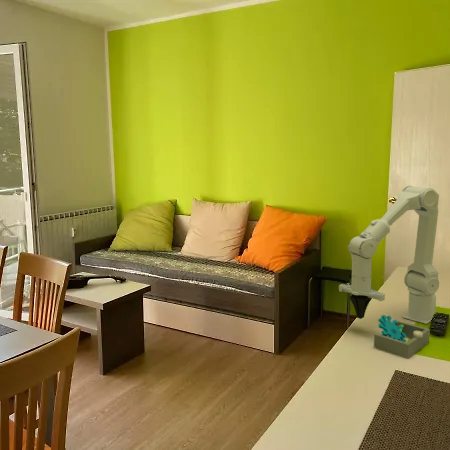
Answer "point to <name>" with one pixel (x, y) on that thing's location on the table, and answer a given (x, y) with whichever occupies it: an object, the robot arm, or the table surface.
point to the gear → (391, 328)
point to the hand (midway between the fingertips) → (360, 317)
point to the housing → (402, 348)
